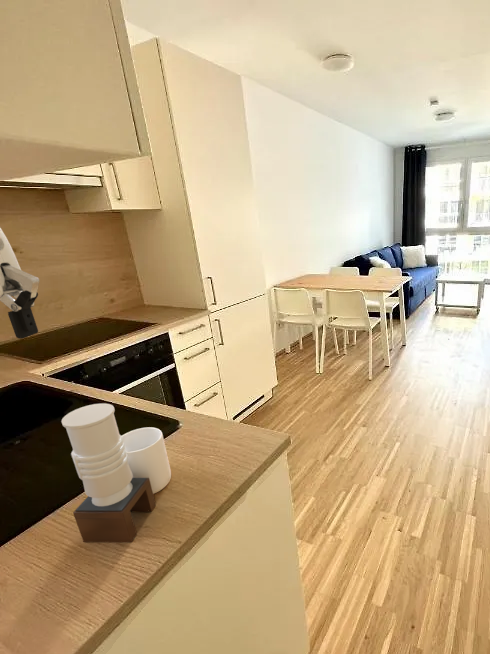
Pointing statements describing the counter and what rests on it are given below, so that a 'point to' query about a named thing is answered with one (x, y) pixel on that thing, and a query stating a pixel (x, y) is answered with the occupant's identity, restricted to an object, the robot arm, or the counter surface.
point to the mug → (148, 456)
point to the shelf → (114, 515)
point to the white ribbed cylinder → (99, 453)
